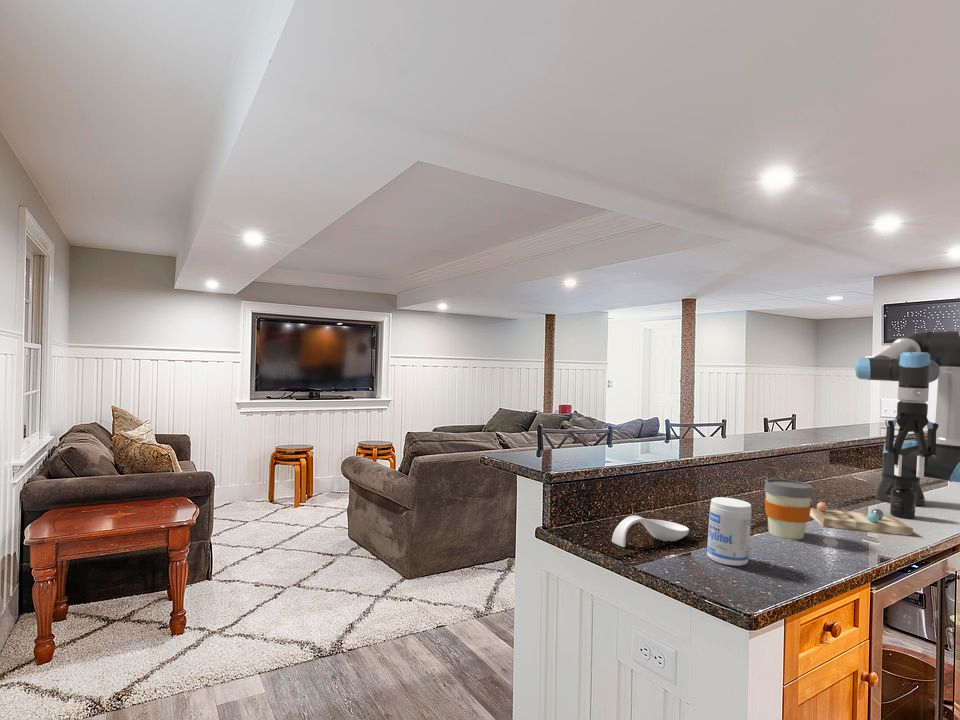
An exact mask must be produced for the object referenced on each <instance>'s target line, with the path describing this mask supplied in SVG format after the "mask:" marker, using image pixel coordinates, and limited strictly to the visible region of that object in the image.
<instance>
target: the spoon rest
mask: <svg viewBox="0 0 960 720" xmlns="http://www.w3.org/2000/svg"><path fill="white" fill-rule="evenodd" d="M636 523H641V524H642V525H643V526H644V528H645V530H646V531H647V532H648V533H649V534H650V535H651V536H652V538H653V539H655V538H656V539H655V540H657V539H659V540H658V541H660V540H662V541H661V542H667V541H671V542H672V541H673V542H676V541H678V540H681V539H683V538H685V537H686V536H687V535H688V533H689V532H690V528H688V527H687V526H686V525H682V524H680V523H677V522H673V521H668V520H663V519H652V518H651V519H650V518H644V517H642V516H640V515H636V514H635V515H629V516H627V517H625V518H623V520H621V521H620V522H619V523H618V525H617V526H616V527H615V529H614V531H613V534H612V538H611V542H612V543H613V544H615V545H617V546H618V547H621V548H625V547H626V543H627V542H626V539H627V533H628V531H629V529H630V527H632V526H633V525H634V524H636ZM671 542H670V543H671Z"/></svg>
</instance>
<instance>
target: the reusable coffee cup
mask: <svg viewBox="0 0 960 720" xmlns="http://www.w3.org/2000/svg"><path fill="white" fill-rule="evenodd" d="M763 491H764V492H765V498H764V507H765V509H764V510H765V515H766V517H767V524H768V525H767V526H768V532H769V534H771V535H772V536H775V537H777V538H782V539H789V540H802V539H804V537H805V531H806V527H807V523H808V522H809V520H810V517H811V516H810V511H811V508H812V504H811V502H812V498H813V496H814V492H813V485H811V484H809V483H806V482H803V481H798V480H791V479H787V478H786V479H784V478H767V479H765V482H764V488H763Z"/></svg>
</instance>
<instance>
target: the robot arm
mask: <svg viewBox="0 0 960 720" xmlns="http://www.w3.org/2000/svg"><path fill="white" fill-rule="evenodd" d="M854 371H855V375H856V377H857V378H858V380H867V381H883V382H884V381H886V382H887V381H889V382H898V387H897V389H898V390H897V392H898V393H897V399H898V400H899V401H898V402H897V403H896V404H897V405H896V410H897V411H896V416H895V418H893V419H886V420H885V421H884V423H885V426H886V430H885V431H886V433H885V442H884V443H883V450H882V469H881V480H880V481H879V484H878V486H877V488H876V490H875V493H874V495H875V496H874V497H875V498H876V500H877V499H878V500H879V501H883V502H887V503H890V504H891V490H892V489H893V488H895V487H896V486H895V480H904V481H910V482H913V488H912V490H913V491H915V493H916V506H915V507H922V506H925V505H926V499H925V495H924V493H923V492H924V491H923V489H922V486H921V479H924V478H927V479H934V480H941V481H946V482H950V483H953V482H954V483H960V330H959V331H958V330H957V331H956V330H955V331H951V330H950V331H948V330H947V331H944V330H943V331H926V330H925V331H919V332H914V333H910V334H907V335H904V336H902V337H899V338H897V339H895V340H894V341H893V342H892V343H891V344H890V347H888V348H886V349H885V350H883V351H882V352H880V353H879V354H876V355H874V356H873V357H869V356H867V357H860V358H858V359H857V360H856V362H855V368H854ZM936 380H937V389H936V391H937V394H936V405H935V406H936V407H935V422H931V421H929V419H928V413H929V412H928V408H929V404H928V401H929V391H930V389H929V387H930V383H932V382H935V381H936ZM896 424H897V425H898V427H899V429H898V430H897V431H898V433H897V435H896V438H895V427H896V426H897V425H896ZM925 427H926V428H927V433H926V434H927V440H926V439H925V432H924V428H925ZM909 432H911V433H912V432H913V433H914V435H915V438H916V440H911V439H909V440H908V439H907V440H905V439H906V437H907V435H908V434H909Z"/></svg>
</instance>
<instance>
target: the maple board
mask: <svg viewBox="0 0 960 720" xmlns="http://www.w3.org/2000/svg"><path fill="white" fill-rule="evenodd" d="M868 514H869V513H864V512H863V513H862V512H855V511H844V510H834V509H833V510H831V509H827V510H826V511H824V512H822V511H819V510H818V509H817V508H813V507H811V511H810V516H809V517H811V518H812V519H813V520H814V521H815V522H817V523H818V524H820V525H821V526H822V527H823V528H833V529H841V530H842V529H843V530H852V531H860V532H861V531H862V532H872V533H878V534H888V533H889V534H891V535H897V534H902V535H901V536H907V535H914V527H912V526H911V525H909V524H907V523H905V522H904V521H902V520H900V519H898V517H895V516H893V515H884V514H883V518H882V519H879V520H878V521H877V522H875V523H873V522H870V521H869V520H868V519H867V515H868Z"/></svg>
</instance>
